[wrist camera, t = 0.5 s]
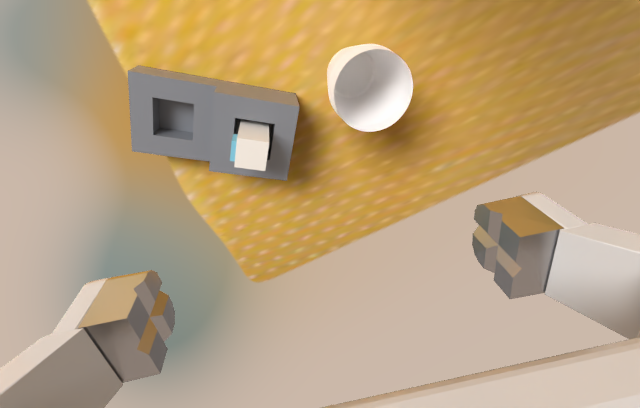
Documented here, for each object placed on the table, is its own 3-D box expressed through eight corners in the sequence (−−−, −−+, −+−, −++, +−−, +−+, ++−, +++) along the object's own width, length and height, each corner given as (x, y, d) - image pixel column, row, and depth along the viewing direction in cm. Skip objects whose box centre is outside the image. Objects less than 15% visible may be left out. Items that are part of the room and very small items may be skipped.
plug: (237, 114, 46) (231, 137, 38) (268, 119, 47) (269, 142, 39) (235, 139, 48) (229, 166, 40) (265, 143, 48) (265, 171, 41)
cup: (360, 20, 45) (388, 27, 35) (394, 79, 49) (428, 99, 39) (304, 66, 47) (315, 85, 37) (342, 118, 51) (361, 148, 41)
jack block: (138, 65, 44) (118, 75, 38) (295, 93, 49) (299, 106, 42) (141, 141, 49) (124, 161, 43) (284, 161, 53) (286, 181, 47)
